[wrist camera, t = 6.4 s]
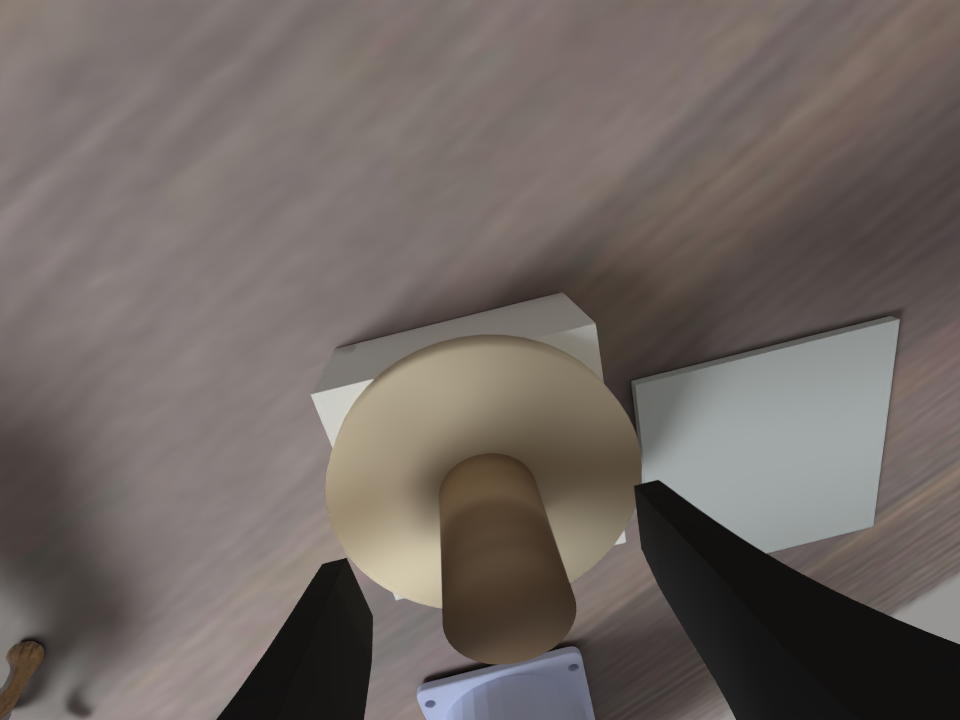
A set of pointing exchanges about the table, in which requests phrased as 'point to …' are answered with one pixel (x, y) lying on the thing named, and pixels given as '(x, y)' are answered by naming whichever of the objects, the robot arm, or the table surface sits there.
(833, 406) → the mat
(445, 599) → the lid
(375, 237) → the table surface
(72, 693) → the table surface
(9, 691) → the lion figurine
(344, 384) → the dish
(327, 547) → the table surface
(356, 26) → the table surface
